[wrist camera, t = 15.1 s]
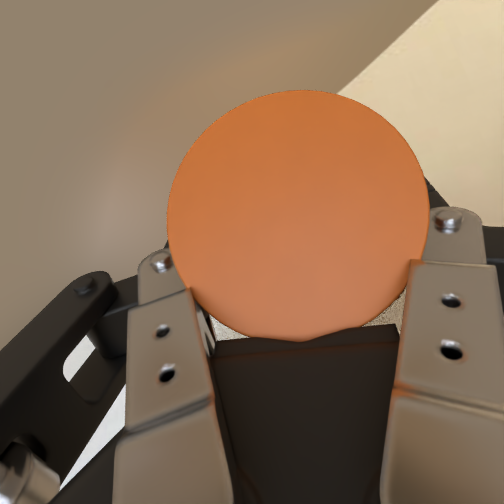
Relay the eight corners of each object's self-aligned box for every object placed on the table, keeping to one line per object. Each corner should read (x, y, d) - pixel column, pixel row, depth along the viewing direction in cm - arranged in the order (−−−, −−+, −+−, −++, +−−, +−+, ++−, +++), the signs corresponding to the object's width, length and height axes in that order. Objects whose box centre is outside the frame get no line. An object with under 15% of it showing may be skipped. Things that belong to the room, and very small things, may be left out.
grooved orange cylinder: (354, 206, 16) (402, 63, 7) (373, 316, 15) (458, 331, 6) (248, 222, 17) (158, 117, 7) (259, 328, 16) (174, 356, 7)
